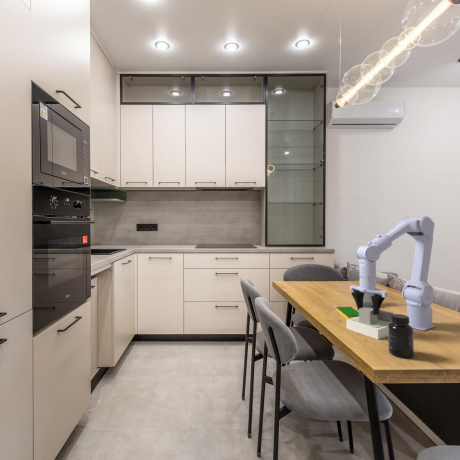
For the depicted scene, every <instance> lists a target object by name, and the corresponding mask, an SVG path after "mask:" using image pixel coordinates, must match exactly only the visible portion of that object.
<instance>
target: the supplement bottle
mask: <svg viewBox="0 0 460 460" xmlns="http://www.w3.org/2000/svg"><path fill="white" fill-rule="evenodd" d="M391 321H392V323H390V324H389V325H388V336H387V339H388V351H389V354H391V355H392V356H393V357H396V358H401V359H411V358H413V357H414V353H415V351H414V350H415V349H414V345H415V343H414V328H412V327H411V326H410V325H409V317H408V316H407V314H406V315H405V314H402V313H401V314H400V313H393V315H391Z"/></svg>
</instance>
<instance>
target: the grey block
mask: <svg viewBox="0 0 460 460" xmlns="http://www.w3.org/2000/svg"><path fill="white" fill-rule="evenodd" d="M358 312H359V322H362V323H366V324H369V325H371V324H374V323H377V315H373V307H371V308H370V307H364V306H363V308H359V311H358Z"/></svg>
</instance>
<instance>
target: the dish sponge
mask: <svg viewBox="0 0 460 460" xmlns="http://www.w3.org/2000/svg"><path fill="white" fill-rule="evenodd" d="M335 311H336V312H337V313H338V314H339V315H341V316H342V317H343V318H344V319H345V320H347V319H351V318H355V317H359V311H358V310H357V309H355V308H353V307H352V306H336V309H335Z"/></svg>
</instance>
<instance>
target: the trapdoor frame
mask: <svg viewBox="0 0 460 460" xmlns="http://www.w3.org/2000/svg"><path fill="white" fill-rule="evenodd" d="M355 318H358V317H355ZM355 318H351V319H345V321H346V329H347V330H350V331H353V332H355V333H359V334H362V335H364V336H367V337H370V338H373V339H376V340H381V339H383V338H386V337H387V338H388V325H386V326H383V327H380V328H374V327H371V326H368V325H365V324H362V323H358V322H355V321H352V319H355Z"/></svg>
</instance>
